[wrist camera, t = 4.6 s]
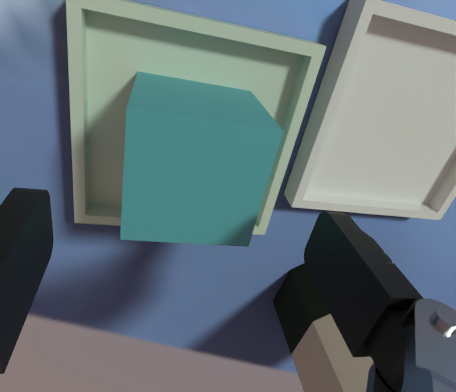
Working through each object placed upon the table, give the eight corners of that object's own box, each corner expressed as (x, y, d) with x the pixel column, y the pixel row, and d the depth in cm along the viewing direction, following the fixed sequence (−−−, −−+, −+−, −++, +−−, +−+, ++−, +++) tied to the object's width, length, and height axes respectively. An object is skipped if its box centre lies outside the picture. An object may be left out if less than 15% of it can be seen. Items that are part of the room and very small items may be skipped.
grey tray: (525, 42, 16) (552, 47, 15) (425, 207, 21) (440, 220, 20) (350, -4, 14) (367, -4, 13) (283, 193, 19) (291, 207, 18)
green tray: (313, 41, 15) (326, 46, 14) (258, 220, 20) (264, 234, 19) (74, -12, 12) (65, -12, 11) (80, 207, 17) (74, 222, 16)
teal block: (250, 90, 15) (283, 130, 11) (228, 184, 18) (248, 246, 13) (137, 71, 14) (126, 108, 10) (131, 175, 16) (120, 239, 12)
